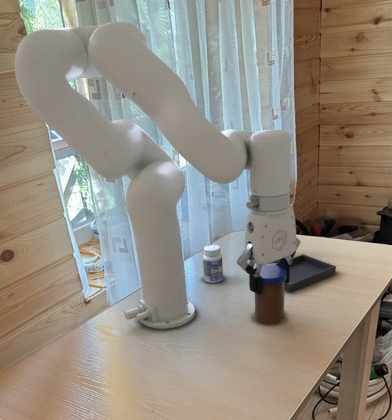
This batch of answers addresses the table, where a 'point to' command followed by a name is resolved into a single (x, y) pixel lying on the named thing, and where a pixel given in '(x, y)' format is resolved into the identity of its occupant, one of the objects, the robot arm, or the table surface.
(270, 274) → the jar lid
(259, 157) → the robot arm
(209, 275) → the pill bottle
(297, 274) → the tray
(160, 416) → the table surface
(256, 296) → the jar
